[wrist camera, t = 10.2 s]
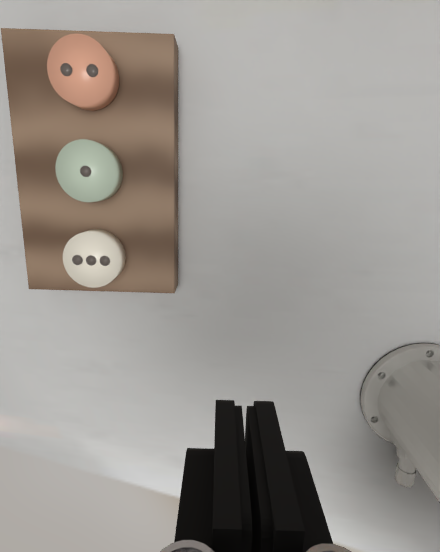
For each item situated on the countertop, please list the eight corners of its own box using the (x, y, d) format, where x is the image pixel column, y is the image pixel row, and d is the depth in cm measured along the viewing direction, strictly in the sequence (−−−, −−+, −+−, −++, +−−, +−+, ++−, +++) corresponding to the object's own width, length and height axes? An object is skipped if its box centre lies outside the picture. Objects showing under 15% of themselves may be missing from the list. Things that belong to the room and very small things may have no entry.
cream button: (126, 282, 34) (120, 288, 32) (73, 281, 34) (64, 287, 32) (124, 230, 32) (118, 232, 30) (70, 228, 32) (60, 231, 30)
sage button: (123, 202, 32) (117, 203, 30) (67, 200, 32) (57, 201, 30) (121, 143, 31) (114, 140, 28) (63, 141, 30) (52, 138, 28)
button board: (177, 284, 37) (174, 293, 34) (44, 280, 37) (29, 288, 34) (178, 48, 32) (173, 34, 29) (21, 42, 32) (1, 28, 29)
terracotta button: (120, 111, 30) (113, 106, 28) (61, 109, 30) (49, 104, 28) (117, 44, 29) (110, 34, 27) (56, 42, 29) (43, 31, 27)
